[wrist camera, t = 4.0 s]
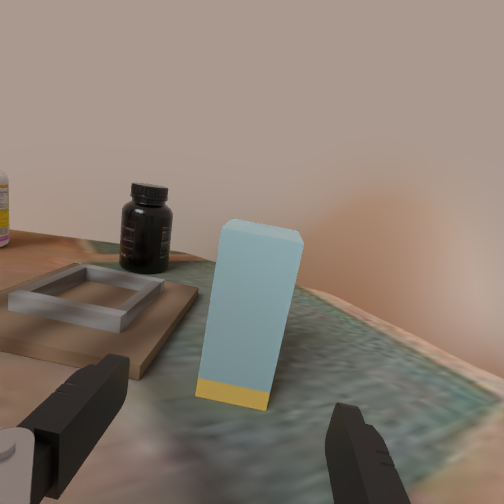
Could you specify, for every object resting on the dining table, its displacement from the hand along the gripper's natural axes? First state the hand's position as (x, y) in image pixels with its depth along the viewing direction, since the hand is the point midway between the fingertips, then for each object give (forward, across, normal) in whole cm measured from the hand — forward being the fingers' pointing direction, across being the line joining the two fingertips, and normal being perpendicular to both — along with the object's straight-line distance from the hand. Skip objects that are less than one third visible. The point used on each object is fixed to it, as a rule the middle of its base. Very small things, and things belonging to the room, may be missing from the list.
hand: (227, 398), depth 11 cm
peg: (+10, 0, +7) cm, 12 cm away
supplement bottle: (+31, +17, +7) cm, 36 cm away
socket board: (+16, +15, +7) cm, 23 cm away
